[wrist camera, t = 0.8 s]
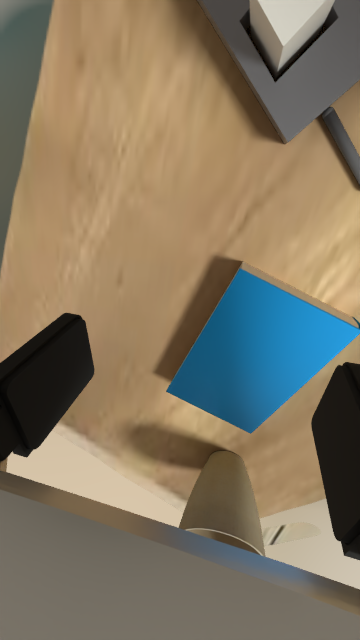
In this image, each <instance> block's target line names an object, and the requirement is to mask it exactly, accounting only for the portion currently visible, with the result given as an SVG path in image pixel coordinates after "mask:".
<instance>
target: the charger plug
mask: <svg viewBox="0 0 360 640" xmlns="http://www.w3.org/2000/svg"><path fill="white" fill-rule="evenodd" d="M334 1H335V0H250V30H251V38H252V39H253V41H254V43H255V44H256V46H257V48H258V50H259V51H260V53H261V55H262V57H263V58H264V60H265V62H266V63H267V65H268V67H269V69H270V70H271V72H272V74H273V76H274V77H275V79H276V78H277V77H278V76H279V75H280V74H281V73H282V72H283V71H284V70H285V69H286V68H287V67H288V66H289V65H290V64H291V63H292V61H293V60H294V59H295V58H296V57H297V56H298V55H299V54H300V53H301V52H302V51H303V50H304V49H305V48H306V47H307V46H308V45H309V44H310V43H311V42H312V41H313V40H314V39H315V38H316V37H317V36H318V34H319V32H320V30H321V28H322V26H323V24H324V22H325V20H326V18H327V16H328V14H329V12H330V10H331V8H332V6H333V4H334Z"/></svg>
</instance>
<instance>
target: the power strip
mask: <svg viewBox="0 0 360 640" xmlns="http://www.w3.org/2000/svg"><path fill="white" fill-rule="evenodd" d="M197 1H198V3H199V5H200V6H201V8H202V9H203V11H204V13H205V14H206V16H207V18H208V19H209V21H210V23H211V24H212V26H213V28H214V29H215V31H216V32H217V34H218V36H219V37H220V39H221V41H222V42H223V44H224V46H225V47H226V49H227V50H228V52H229V54H230V55H231V57H232V59H233V60H234V62H235V64H236V65H237V67H238V69H239V70H240V72H241V73H242V75H243V77H244V78H245V80H246V82H247V83H248V85H249V87H250V88H251V90H252V91H253V93H254V95H255V96H256V98H257V100H258V101H259V103H260V105H261V106H262V108H263V110H264V111H265V113H266V114H267V116H268V118H269V119H270V121H271V123H272V124H273V126H274V128H275V129H276V131H277V133H278V134H279V136H280V137H281V139H282V141H283V142H284V144H286V143H288V142H289V141H290V140H291V139H293V138H294V137H295V136H296V135H297V134H298V133H299V132H301V131H302V130H303V129H304V128H305V127H306V126H307V125H308V124H310V123H311V122H312V121H313V120H314V119H315V118H316V117H318V116H319V115H320V114H321V113H322V112H323V114H322V118H323V120H324V122H325V123H326V125H327V127H328V129H329V131H330V132H331V134H332V136H333V138H334V140H335V142H336V143H337V145H338V147H339V149H340V151H341V152H342V154H343V156H344V158H345V160H346V161H347V163H348V165H349V167H350V169H351V171H352V172H353V174H354V176H355V178H356V180H357V181H358V183H359V185H360V157H359V155H358V153H357V151H356V149H355V147H354V145H353V144H352V142H351V140H350V138H349V136H348V134H347V132H346V130H345V129H344V127H343V125H342V123H341V121H340V119H339V117H338V116H337V114H336V112H335V110H334V108H333V107H329V106H330V105H331V104H332V103H334V102H335V101H336V100H337V99H338V98H339V97H340V96H341V95H343V94H344V93H345V92H346V91H347V90H348V89H349V88H351V87H352V86H353V85H354V84H355V83H356V82H357V81H359V80H360V0H335V1H334V4H333V6H332V8H331V10H330V12H329V14H328V16H327V18H326V20H325V22H324V25H325V27H326V29H327V30H326V31H325V32H324V33H323V34H322V35H321V36H320V37H319V38H318V39H317V40H316V41H315V42H314V43H313V44H312V45H311V47H310V48H309V49H308V50H307V51H306V52H305V53H304V54H303V55H302V56H301V57H300V58H299V59H298V60H297V61H296V62H295V63H294V64H293V65H292V66H291V67H290V68H289V69H288V70H287V71H286V72H285V73H284V74H283V75H282V76H281V77H280V78H279V79H278V81H277V82H276V83H275V81H274V79H273V78H272V76H271V74H270V73H269V71H268V69H267V67H266V66H265V64H264V62H263V61H262V59H261V57H260V55H259V54H258V52H257V50H256V48H255V47H254V45H253V43H252V42H251V40H250V38H249V36H248V35H247V33H246V30H247V28H248V27H249V26H250V0H197Z"/></svg>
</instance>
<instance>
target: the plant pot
mask: <svg viewBox="0 0 360 640" xmlns="http://www.w3.org/2000/svg"><path fill="white" fill-rule="evenodd" d="M179 528H180V529H183V530H186V531H189V532H192V533H195V534H198V535H201V536H204V537H207V538H210V539H213V540H216V541H219V542H222V543H225V544H228V545H231V546H234V547H237V548H240V549H243V550H246V551H249V552H252V553H255V554H258V555H261V556H264V557H265V550H264V543H263V536H262V530H261V525H260V519H259V514H258V509H257V505H256V501H255V497H254V493H253V489H252V485H251V482H250V479H249V476H248V473H247V470H246V467H245V464H244V461H243V460H242V458H241V457H239V456H238V455H237V454H235V453H232V452H229V451H216V452H214V453H212V454H211V456H210V457H209V459H208V461H207V462H206V464H205V466H204V468H203V469H202V471H201V473H200V475H199V477H198V479H197V481H196V483H195V486H194V488H193V490H192V492H191V495H190V497H189V500H188V502H187V505H186V508H185V510H184V513H183V517H182V519H181V522H180V525H179Z"/></svg>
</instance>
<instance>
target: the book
mask: <svg viewBox="0 0 360 640" xmlns="http://www.w3.org/2000/svg"><path fill="white" fill-rule="evenodd" d="M359 334H360V323H359V322H358V321H357V320H356V319H355V318H354V317H353V318H352V317H351V316H349V315H347V314H345V313H343V312H341V311H339V310H337V309H335V308H333V307H331V306H330V305H328V304H326V303H324V302H322V301H320V300H318V299H316V298H314V297H312V296H310V295H308V294H306V293H304V292H302V291H300V290H298V289H296V288H294V287H292V286H290V285H288V284H286V283H284V282H282V281H280V280H278V279H276V278H274V277H272V276H270V275H269V274H267V273H265V272H263V271H261V270H259V269H257V268H255V267H253V266H251V265H249V264H247V263H245V262H242V264H241V265H240V267H239V269H238V270H237V272H236V274H235V275H234V277H233V279H232V280H231V282H230V284H229V286H228V287H227V289H226V291H225V292H224V294H223V296H222V297H221V299H220V301H219V302H218V304H217V306H216V307H215V309H214V311H213V312H212V314H211V316H210V317H209V319H208V321H207V322H206V324H205V326H204V327H203V329H202V331H201V332H200V334H199V336H198V337H197V339H196V341H195V343H194V344H193V346H192V348H191V349H190V351H189V353H188V354H187V356H186V358H185V359H184V361H183V363H182V364H181V366H180V368H179V369H178V371H177V373H176V374H175V376H174V378H173V380H172V382H171V384H170V385H169V387H168V389H167V391H166V392H168V393H170V394H172V395H174V396H176V397H178V398H180V399H182V400H184V401H186V402H188V403H190V404H192V405H194V406H196V407H198V408H200V409H202V410H204V411H206V412H208V413H210V414H212V415H214V416H216V417H218V418H220V419H222V420H225V421H227V422H229V423H231V424H233V425H235V426H237V427H239V428H241V429H243V430H245V431H247V432H249V433H252V432H253V431H254V430H255V429H256V428H258V427H259V426H260V425H261V424H262V423H263V422H264V421H265V420H266V419H267V418H268V417H269V416H271V415H272V414H273V413H274V412H275V411H276V410H277V409H278V408H279V407H280V406H281V405H283V404H284V403H285V402H286V401H287V400H288V399H289V398H290V397H291V396H292V395H293V394H295V393H296V392H297V391H298V390H299V389H300V388H301V387H302V386H303V385H304V384H305V383H307V382H308V381H309V380H310V379H311V378H312V377H313V376H314V375H315V374H316V373H317V372H319V371H320V370H321V369H322V368H323V367H324V366H325V365H326V364H327V363H328V362H329V361H331V360H332V359H333V358H334V357H335V356H336V355H337V354H338V353H339V352H340V351H341V350H342V349H344V348H345V347H346V346H347V345H348V344H349V343H350V342H351V341H352V340H353V339H354V338H356V337H357V336H358V335H359Z"/></svg>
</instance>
